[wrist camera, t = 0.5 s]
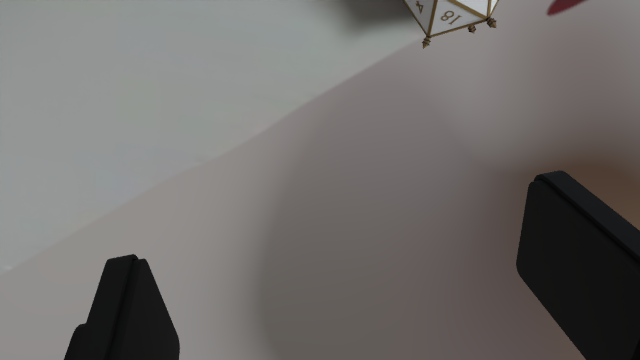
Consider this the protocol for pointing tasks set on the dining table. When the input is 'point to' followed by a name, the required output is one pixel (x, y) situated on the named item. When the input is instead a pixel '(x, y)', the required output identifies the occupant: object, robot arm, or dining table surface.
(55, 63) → the dining table surface
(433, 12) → the game die
